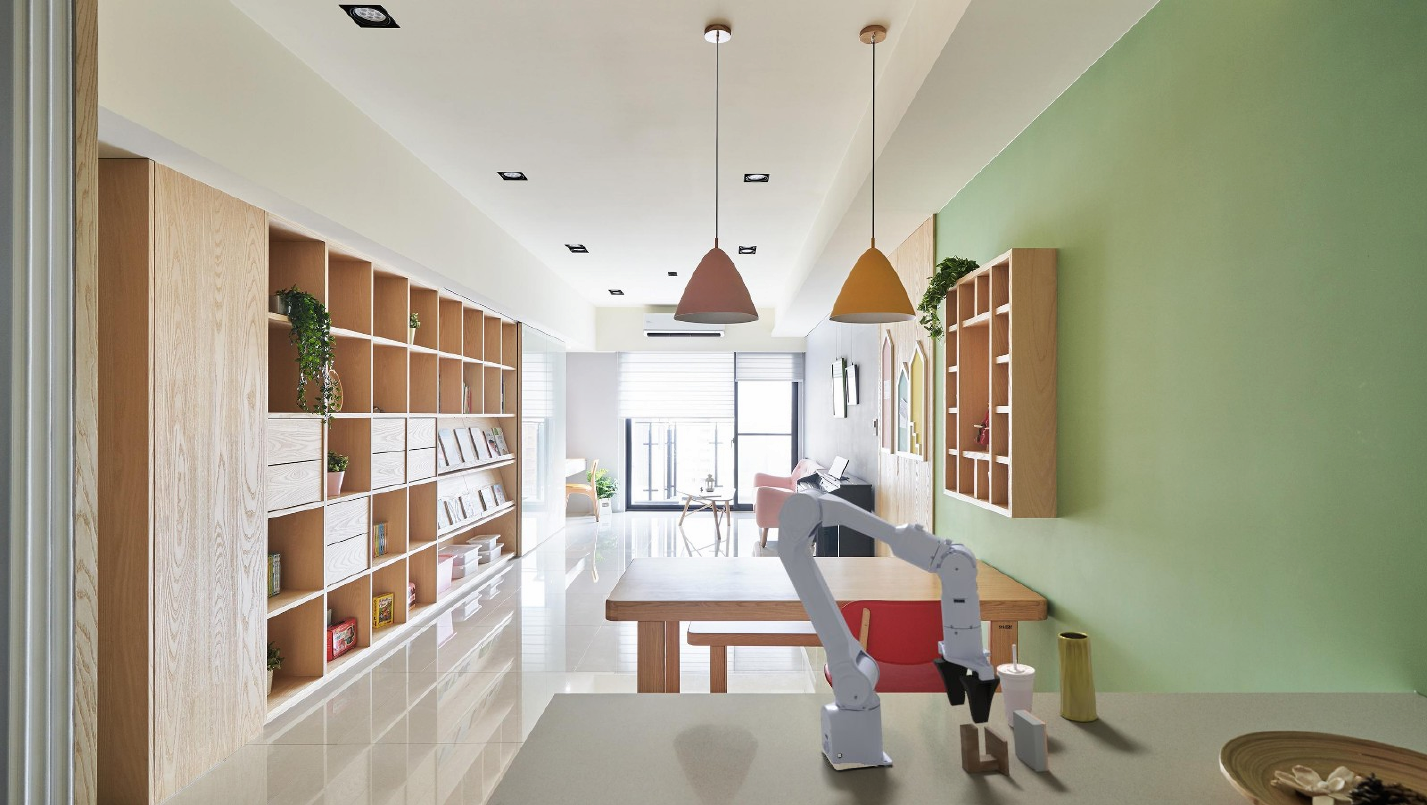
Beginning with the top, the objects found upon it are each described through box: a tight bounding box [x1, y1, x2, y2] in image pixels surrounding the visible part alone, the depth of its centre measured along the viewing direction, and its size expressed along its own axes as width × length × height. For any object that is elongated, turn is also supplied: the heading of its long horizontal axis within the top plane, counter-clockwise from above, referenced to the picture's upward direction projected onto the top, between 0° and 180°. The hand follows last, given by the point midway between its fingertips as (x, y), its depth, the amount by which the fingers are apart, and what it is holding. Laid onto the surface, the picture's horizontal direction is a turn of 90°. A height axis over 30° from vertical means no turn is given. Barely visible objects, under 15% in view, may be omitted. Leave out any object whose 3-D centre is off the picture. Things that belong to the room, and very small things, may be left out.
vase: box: [1057, 631, 1099, 723], centre depth 136 cm, size 6×6×14 cm
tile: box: [1013, 710, 1049, 773], centre depth 119 cm, size 2×6×7 cm, turn 8°
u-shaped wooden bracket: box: [959, 723, 1010, 776], centre depth 118 cm, size 6×6×6 cm
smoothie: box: [996, 644, 1037, 729], centre depth 134 cm, size 6×6×14 cm
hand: (968, 713), depth 118 cm, fingers open, 7 cm apart
